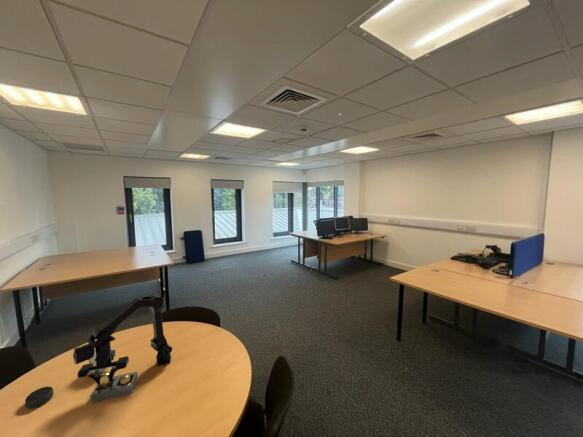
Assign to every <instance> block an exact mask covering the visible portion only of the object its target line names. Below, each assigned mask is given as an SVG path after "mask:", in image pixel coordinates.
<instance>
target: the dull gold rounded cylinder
mask: <svg viewBox="0 0 583 437" xmlns="http://www.w3.org/2000/svg"><path fill="white" fill-rule="evenodd" d="M130 373H131V372H129V373H128V372H126V373H123V374H121V375H122V376H121V377H120V385H124V384H129V383H131V375H130Z"/></svg>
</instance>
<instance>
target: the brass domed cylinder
mask: <svg viewBox="0 0 583 437" xmlns="http://www.w3.org/2000/svg"><path fill="white" fill-rule="evenodd" d="M110 371H111V370H107V371H106V370H105V371H102V373H100V375H99V381H100V389H101V390H103V389H107V388H109V387H110V386H111V385H112V382H110ZM110 388H111V387H110Z"/></svg>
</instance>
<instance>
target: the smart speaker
mask: <svg viewBox="0 0 583 437" xmlns="http://www.w3.org/2000/svg"><path fill="white" fill-rule="evenodd" d="M53 396H54V388H53V387H52V386H43V387H40V388H37V389H35V390H34V391H32V392H31V393H29V394H28V395H27V396H26V398H25V400H24V404H25V407H26V408H28V409H34V408H37V407H40V406H42V405H44V404H46V403H47V402H49V401H50V400H51V399H52V398H53Z"/></svg>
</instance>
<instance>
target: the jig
mask: <svg viewBox="0 0 583 437" xmlns="http://www.w3.org/2000/svg"><path fill="white" fill-rule="evenodd" d="M129 373H130V375H131V383H129V384H124V385H120V377H121V376H122V375H123V374H120V375H119V374H118V375H114V377H113V381H112V385H111V386H110V387H109V388H107V389H103V390H101V389H100V385H98V384H97V383H96V385H95V387H94V388H93V390H92V393H91V395H90V399H91V400H90V401H91V404H94V403H99V402H102V401H107V400H111V399H115V398H118V397H122V396H126V395H132V394H133V393H134V390H135V388H136V385H137V381H138V379H139V377H138V376H139V375H138V371H133V372H129Z"/></svg>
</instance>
